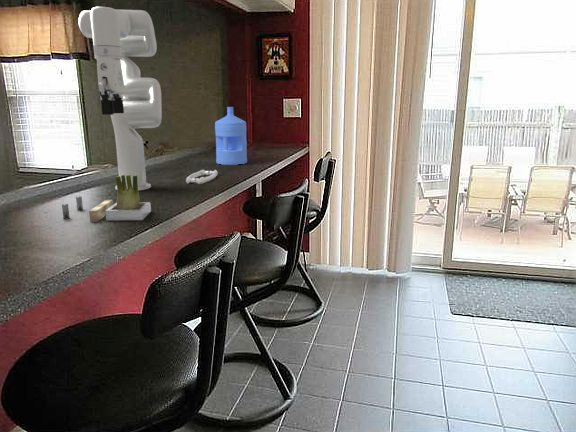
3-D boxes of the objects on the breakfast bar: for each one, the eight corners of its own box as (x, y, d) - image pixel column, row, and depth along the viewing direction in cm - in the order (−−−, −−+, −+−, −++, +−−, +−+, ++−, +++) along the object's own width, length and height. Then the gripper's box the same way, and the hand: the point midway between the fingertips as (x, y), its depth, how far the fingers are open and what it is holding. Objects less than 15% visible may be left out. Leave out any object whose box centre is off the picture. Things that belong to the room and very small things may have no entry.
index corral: (117, 211, 139) (116, 202, 138) (151, 211, 140) (150, 202, 139) (106, 220, 129) (105, 210, 129) (142, 220, 130) (141, 210, 129)
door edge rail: (106, 209, 142) (105, 199, 141) (113, 209, 142) (112, 199, 141) (90, 221, 128) (88, 211, 128) (97, 221, 128) (96, 211, 128)
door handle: (180, 185, 182) (200, 174, 206) (204, 185, 181) (222, 175, 205) (180, 178, 182) (200, 168, 206) (204, 179, 180) (221, 169, 204)
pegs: (78, 209, 142) (77, 196, 141) (83, 209, 142) (82, 196, 141) (62, 218, 131) (60, 205, 130) (68, 218, 131) (66, 205, 130)
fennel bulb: (141, 213, 137) (138, 173, 134) (135, 218, 132) (132, 176, 129) (122, 213, 137) (119, 173, 134) (115, 217, 132) (111, 176, 129)
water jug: (224, 160, 246) (222, 106, 239) (251, 162, 242) (250, 106, 235) (210, 164, 232) (208, 107, 225) (239, 166, 227) (238, 107, 220)
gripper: (111, 51, 127) (117, 115, 131) (129, 56, 144) (134, 112, 148) (83, 50, 127) (90, 115, 131) (104, 56, 144) (110, 112, 148)
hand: (113, 113), depth 140 cm, fingers open, 9 cm apart
